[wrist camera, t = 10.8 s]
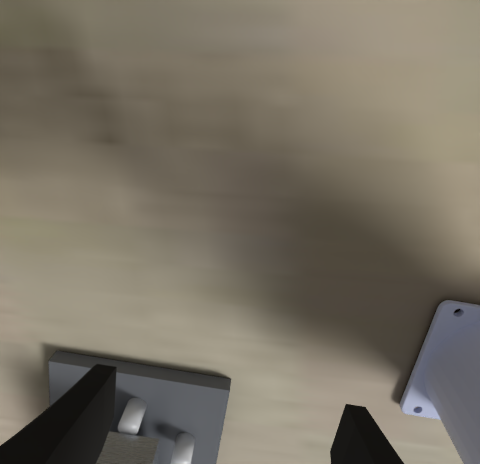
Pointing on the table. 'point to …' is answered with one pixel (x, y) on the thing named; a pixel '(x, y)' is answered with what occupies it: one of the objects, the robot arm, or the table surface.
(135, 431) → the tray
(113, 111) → the table surface
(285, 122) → the table surface
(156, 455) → the block
